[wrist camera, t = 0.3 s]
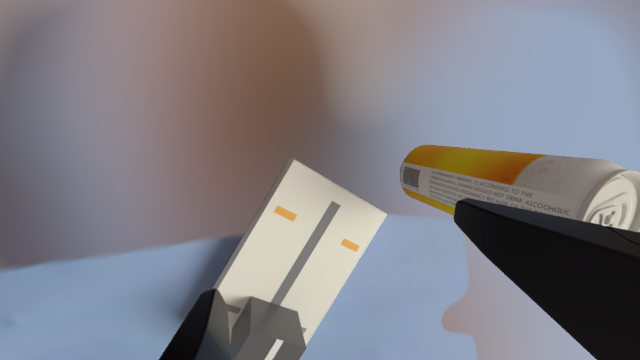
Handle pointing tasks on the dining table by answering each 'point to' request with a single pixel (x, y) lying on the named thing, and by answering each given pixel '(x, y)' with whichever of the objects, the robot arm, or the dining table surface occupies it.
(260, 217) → the fader console
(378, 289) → the dining table surface
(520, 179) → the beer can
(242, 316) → the fader cap
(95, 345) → the dining table surface
